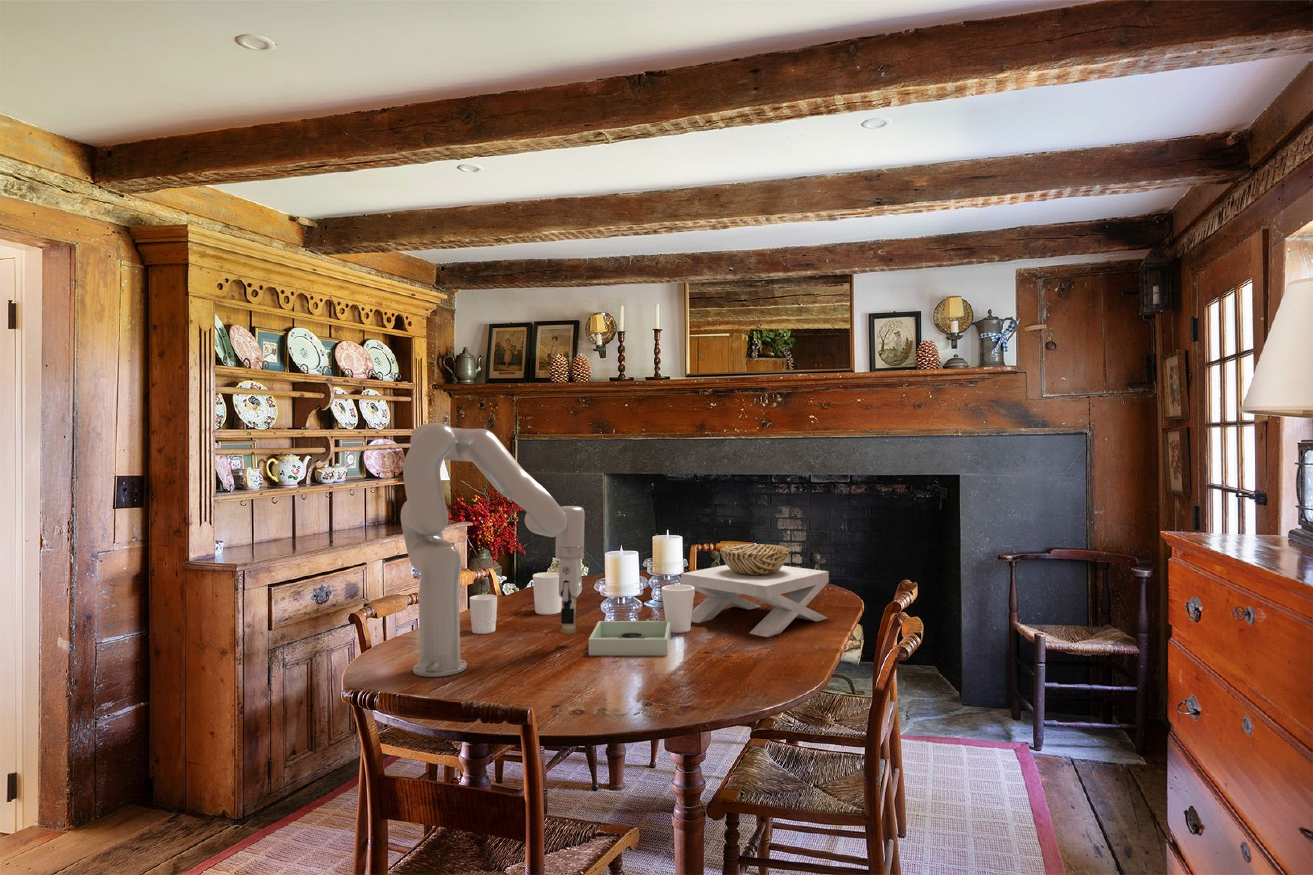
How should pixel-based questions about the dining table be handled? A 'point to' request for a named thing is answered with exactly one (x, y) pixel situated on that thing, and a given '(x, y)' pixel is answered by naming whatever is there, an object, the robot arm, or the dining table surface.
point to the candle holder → (547, 593)
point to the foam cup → (678, 606)
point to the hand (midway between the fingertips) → (568, 621)
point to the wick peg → (572, 627)
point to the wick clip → (631, 635)
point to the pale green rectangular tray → (609, 644)
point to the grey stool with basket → (757, 586)
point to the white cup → (483, 613)
